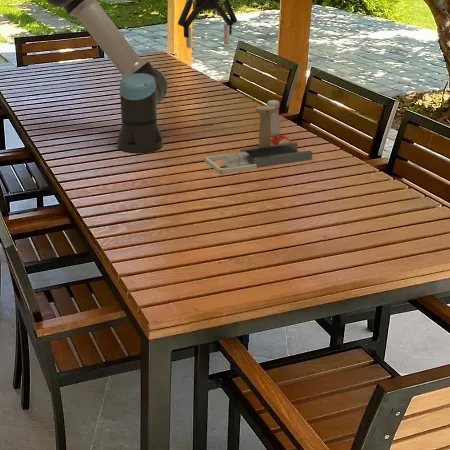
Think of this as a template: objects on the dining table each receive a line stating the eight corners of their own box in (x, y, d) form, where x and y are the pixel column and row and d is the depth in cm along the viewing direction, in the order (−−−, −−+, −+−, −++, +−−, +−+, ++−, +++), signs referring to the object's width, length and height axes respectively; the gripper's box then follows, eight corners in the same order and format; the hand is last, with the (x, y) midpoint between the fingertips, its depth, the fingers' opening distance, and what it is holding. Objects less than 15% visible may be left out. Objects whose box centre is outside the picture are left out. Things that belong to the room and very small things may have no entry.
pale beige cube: (239, 166, 222) (239, 156, 221) (234, 163, 225) (234, 152, 224) (249, 165, 224) (249, 154, 222) (244, 162, 227) (244, 151, 225)
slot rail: (255, 170, 221) (255, 159, 219) (240, 160, 230) (240, 149, 229) (311, 162, 228) (312, 151, 227) (295, 152, 237) (295, 142, 236)
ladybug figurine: (278, 152, 238) (278, 142, 237) (265, 143, 247) (265, 134, 245) (296, 149, 241) (296, 139, 239) (282, 141, 249) (283, 131, 248)
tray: (220, 176, 215) (220, 170, 215) (204, 163, 226) (204, 157, 225) (256, 171, 220) (256, 164, 219) (238, 159, 231) (238, 152, 230)
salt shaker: (275, 140, 249) (276, 103, 244) (261, 137, 252) (262, 101, 247) (283, 136, 254) (284, 100, 249) (268, 133, 257) (270, 97, 252)
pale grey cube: (228, 169, 220) (228, 158, 219) (223, 165, 223) (223, 155, 222) (238, 167, 222) (238, 156, 220) (233, 164, 225) (233, 153, 223)
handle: (275, 153, 236) (277, 108, 230) (257, 154, 235) (257, 109, 229) (271, 149, 240) (273, 105, 234) (253, 150, 239) (254, 106, 233)
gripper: (175, -19, 223) (176, 50, 232) (247, -22, 232) (246, 45, 241) (167, -21, 229) (168, 46, 238) (237, -24, 238) (237, 41, 247)
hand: (208, 46), depth 239 cm, fingers open, 13 cm apart
